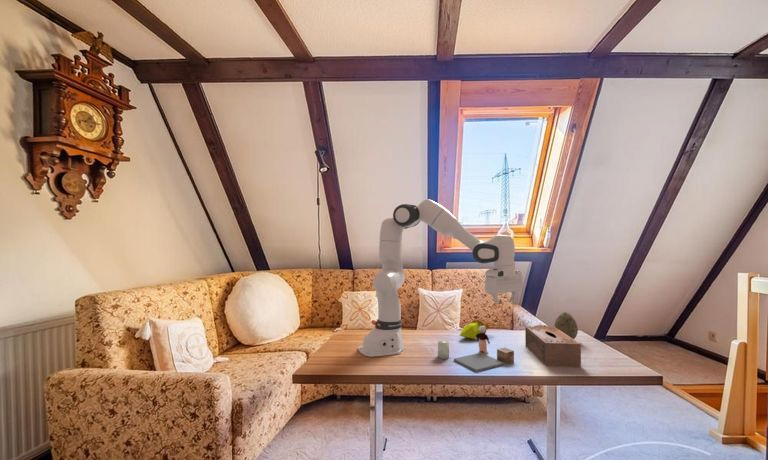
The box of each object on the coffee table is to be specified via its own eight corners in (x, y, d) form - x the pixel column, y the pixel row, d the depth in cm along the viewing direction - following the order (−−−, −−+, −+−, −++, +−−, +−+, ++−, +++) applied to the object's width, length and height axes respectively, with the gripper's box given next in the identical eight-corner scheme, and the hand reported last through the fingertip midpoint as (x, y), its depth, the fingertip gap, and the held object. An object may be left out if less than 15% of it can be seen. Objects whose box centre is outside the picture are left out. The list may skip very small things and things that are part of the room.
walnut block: (505, 364, 149) (505, 352, 149) (497, 360, 153) (497, 349, 153) (513, 362, 151) (513, 350, 151) (505, 358, 156) (505, 347, 156)
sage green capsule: (442, 359, 154) (442, 344, 154) (435, 356, 158) (435, 340, 158) (451, 357, 156) (451, 342, 156) (444, 354, 161) (444, 339, 161)
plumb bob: (467, 344, 176) (499, 331, 189) (463, 327, 177) (495, 314, 190) (455, 344, 183) (487, 331, 196) (451, 327, 184) (483, 315, 198)
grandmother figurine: (491, 352, 163) (491, 326, 163) (489, 355, 159) (489, 327, 160) (475, 349, 167) (475, 323, 167) (473, 351, 164) (473, 325, 164)
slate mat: (476, 372, 140) (476, 369, 140) (453, 360, 152) (453, 358, 152) (504, 365, 148) (504, 362, 148) (480, 354, 160) (480, 352, 160)
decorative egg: (553, 337, 187) (552, 309, 187) (575, 339, 184) (575, 310, 184) (556, 343, 177) (556, 313, 177) (579, 345, 174) (579, 315, 174)
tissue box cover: (525, 346, 173) (525, 326, 173) (555, 347, 172) (555, 327, 172) (545, 366, 147) (545, 343, 147) (580, 367, 146) (580, 343, 146)
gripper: (515, 269, 160) (515, 298, 160) (482, 272, 151) (482, 303, 151) (526, 270, 155) (526, 301, 155) (493, 273, 145) (493, 306, 145)
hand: (505, 302), depth 153 cm, fingers open, 8 cm apart
